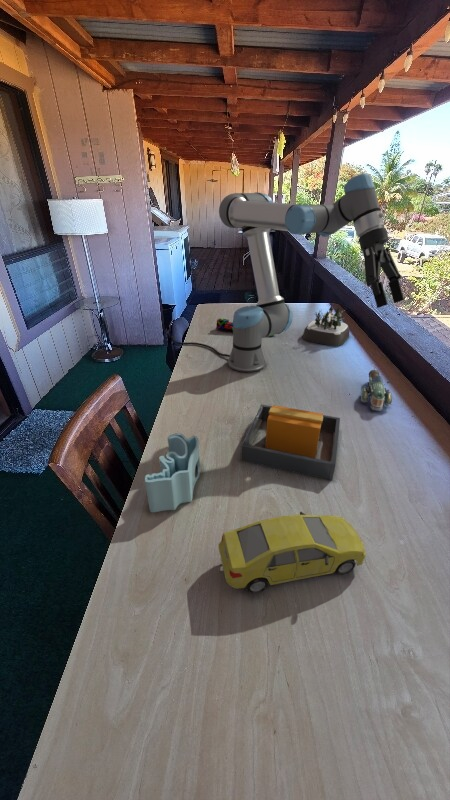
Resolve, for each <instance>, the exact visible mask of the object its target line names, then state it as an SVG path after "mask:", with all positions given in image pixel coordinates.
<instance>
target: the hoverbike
mask: <svg viewBox="0 0 450 800" xmlns="http://www.w3.org/2000/svg"><path fill="white" fill-rule="evenodd" d="M376 368H377V369H376ZM390 383H391V381H386V383H385V384H384V378H383V376H381V374H380V372H379V369H378V367H377V366H376V367H374V368H373V369H371V370H370V371H369V372H368V381H367V386H364V387H362V389H361V393H360V395H361V398H360V401H361V403H366V402H369V398H370V405H369V406H370V409H371V411H372V412H375V413H379V412H380V411H382V410H383V408H384V406H383V405H385V406H386V407H388V406H390V405H392V404H393V403H392V402H393V396H392V394H391V391H390V389H387V388H386V387H385V385H387V384H390Z"/></svg>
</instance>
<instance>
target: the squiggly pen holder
mask: <svg viewBox="0 0 450 800" xmlns="http://www.w3.org/2000/svg"><path fill="white" fill-rule="evenodd" d="M167 444H168V452H167V453H166V455H165V456H164V455H160V456H159V457H158V461H159V467H160V472H157V473H155V472H154V473H153V472H152V474H148V473H147V474H146V475H145V476H144V482H145V489H146V495H147V496H146V497H147V502H148V508H149V512H150V513H158V512H163V511H176V509H177V508H178V507H179V505H180V504H181V505H182V504H183V503H191V502H192V501H193V495H194V488H195V485H196V483H197V481H198V480H199V478H200V474H201V462H200V441H199V437H198V436H196V435H191V436H190V437H188V438H187V437H186V436H185V435H184V434H183V433H181V432H177V433H172V434H169V436H167ZM196 467H197V475H196Z"/></svg>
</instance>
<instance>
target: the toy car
mask: <svg viewBox="0 0 450 800" xmlns="http://www.w3.org/2000/svg"><path fill="white" fill-rule="evenodd" d="M218 552H219V555H220V560H221V564H222V569H223V574H224V578H225V582H226V584H228V585H229V586H230V587H232V588H234V590H235V589H245V588H246V591H247V592H248V593H251V594H257V593H261V592H263V591H265V589H267V588H268V586H269V585H270V586H273V585H279V584H284V583H289V582H293V581H298V580H304V579H309V578H314V577H315V578H316V577H319V576H325V575H331V574H334V573H336V574H338V575H345V574H349V573H350V572H352V571H353V569H355V567H356V566H357V567H358V566H361V565H363V563H364V560H365V558H366V556H367V554H366V548H365V544H364V542H363V540H362V538H361V536H360V534H359V532H358V530H357V529H356V528H355V527H354V526H353V525H352V524H351V523H350V522H349V521H348V520H347V519H345V518H344V517H342V516H337V515H333V514H330V515H329V514H327V515H324V514H323V515H322V514H321V515H317V514H315V515H314V514H306V513H304V512H303V511H300V512H299V514H291V515H290V514H289V515H283V516H276V517H272V518H267V519H263V520H258V521H256V522H253V523H249V524H247V525H244V526H241V527H239V528H236V529H232V530H229V531H226V532H223V534H222V535H221V540H220V542H219V543H218Z"/></svg>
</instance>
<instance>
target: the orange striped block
mask: <svg viewBox="0 0 450 800" xmlns="http://www.w3.org/2000/svg"><path fill="white" fill-rule="evenodd" d="M272 406H273V407H271V408H270V410H269V417H268V419H267V420H266V433H265V447H264V448H265V449H270V450H275V451H280V452H285V453H290V454H295V455H299V456H304V457H309V458H314V459H317V458H316V457H317V451H318V446H319V439H320V434H321V433H320V432H321V430H320V429H321V423H322V421H323V415H324V413H322V412H315V411H309V410H304V409H299V408H291V407H286V406H280V405H276V404H275V405H274V404H273V405H272Z"/></svg>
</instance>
